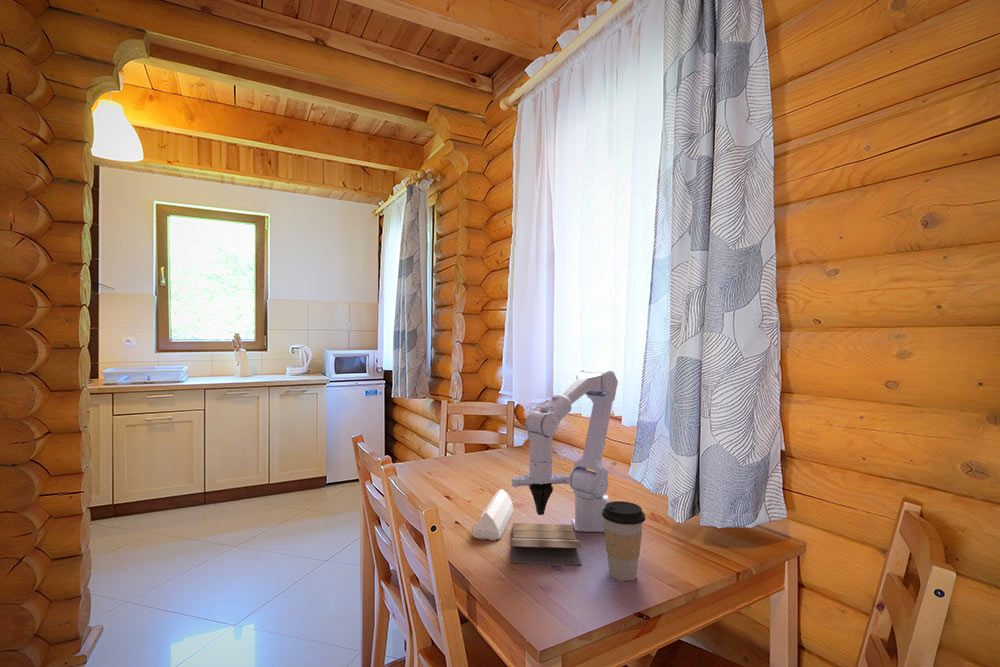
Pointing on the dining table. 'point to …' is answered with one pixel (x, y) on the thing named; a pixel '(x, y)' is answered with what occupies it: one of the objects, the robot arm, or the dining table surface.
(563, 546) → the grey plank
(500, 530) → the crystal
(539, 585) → the dining table surface
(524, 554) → the underlay mat
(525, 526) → the walnut boards
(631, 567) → the coffee cup
